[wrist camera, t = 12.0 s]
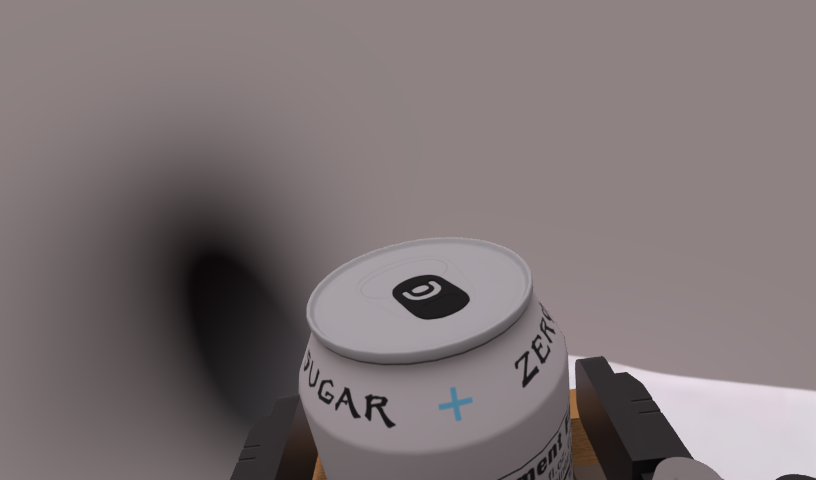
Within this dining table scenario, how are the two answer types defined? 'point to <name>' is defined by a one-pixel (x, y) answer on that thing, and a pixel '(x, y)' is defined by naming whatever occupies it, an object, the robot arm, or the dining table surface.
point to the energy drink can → (436, 368)
